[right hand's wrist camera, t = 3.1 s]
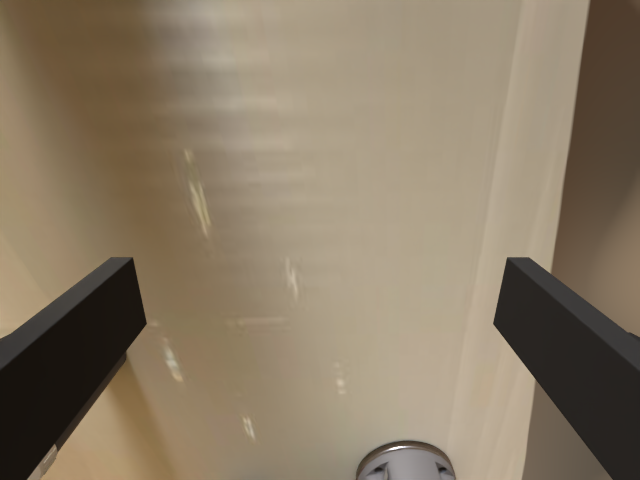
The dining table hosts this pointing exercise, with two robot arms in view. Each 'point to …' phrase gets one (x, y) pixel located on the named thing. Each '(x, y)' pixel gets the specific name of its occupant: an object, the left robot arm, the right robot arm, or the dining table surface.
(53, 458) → the lid
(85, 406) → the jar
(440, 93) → the dining table surface
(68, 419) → the right robot arm
